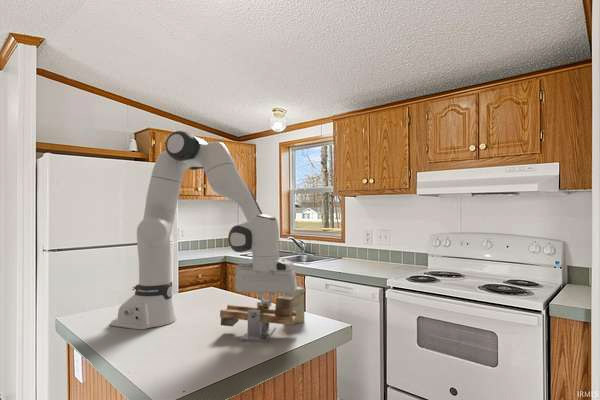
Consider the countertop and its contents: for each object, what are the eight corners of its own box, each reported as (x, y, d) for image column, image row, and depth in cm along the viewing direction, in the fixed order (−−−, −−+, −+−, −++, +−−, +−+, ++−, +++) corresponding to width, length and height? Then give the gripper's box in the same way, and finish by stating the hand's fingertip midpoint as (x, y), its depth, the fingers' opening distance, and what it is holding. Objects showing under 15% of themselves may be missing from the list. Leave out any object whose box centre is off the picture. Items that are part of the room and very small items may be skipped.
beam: (218, 326, 119) (219, 307, 119) (228, 318, 127) (229, 300, 128) (291, 334, 115) (292, 314, 115) (296, 326, 123) (297, 307, 123)
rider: (274, 318, 118) (275, 299, 118) (278, 313, 123) (279, 295, 123) (289, 319, 117) (290, 300, 117) (292, 315, 122) (293, 297, 122)
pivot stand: (241, 340, 115) (240, 311, 116) (253, 327, 128) (253, 300, 128) (265, 342, 114) (265, 312, 114) (275, 328, 127) (275, 301, 127)
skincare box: (290, 324, 131) (289, 290, 131) (284, 321, 135) (283, 288, 135) (305, 321, 134) (304, 288, 134) (298, 318, 138) (298, 286, 138)
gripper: (232, 264, 120) (232, 307, 120) (294, 265, 116) (294, 309, 116) (238, 261, 126) (239, 302, 126) (297, 262, 123) (298, 304, 122)
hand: (266, 306), depth 121 cm, fingers closed
